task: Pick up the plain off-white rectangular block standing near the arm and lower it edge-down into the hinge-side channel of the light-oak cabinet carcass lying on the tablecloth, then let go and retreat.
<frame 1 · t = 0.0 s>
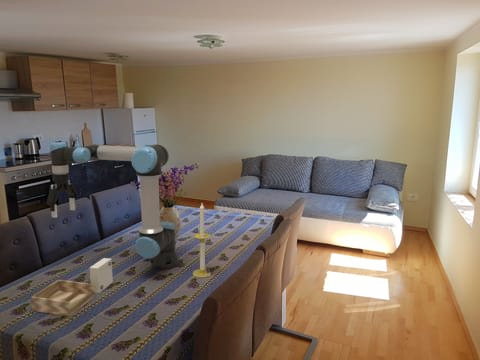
hand: (64, 213, 189), 28 cm above the table, fingers open, 13 cm apart
plain off-white rectangular block: (102, 287, 171), on the table
candle: (202, 273, 186), on the table
cabinet carcass: (64, 303, 156), on the table
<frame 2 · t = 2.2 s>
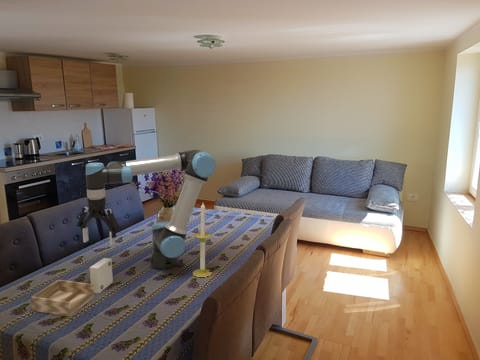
hand: (99, 243, 166), 22 cm above the table, fingers open, 13 cm apart
candle: (202, 273, 186), on the table, touching arm
everything else where it was.
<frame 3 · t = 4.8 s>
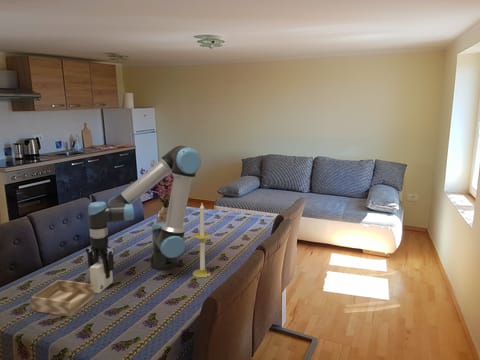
hand: (102, 283, 170), 2 cm above the table, fingers closed on plain off-white rectangular block, 4 cm apart
plain off-white rectangular block: (102, 286, 171), on the table, touching gripper
candle: (202, 273, 186), on the table
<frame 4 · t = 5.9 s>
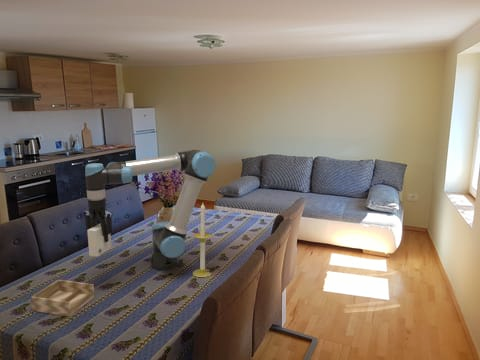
hand: (100, 247, 167), 19 cm above the table, fingers closed on plain off-white rectangular block, 4 cm apart
plain off-white rectangular block: (100, 251, 167), point 18 cm above the table, touching gripper
candle: (202, 273, 186), on the table, touching arm
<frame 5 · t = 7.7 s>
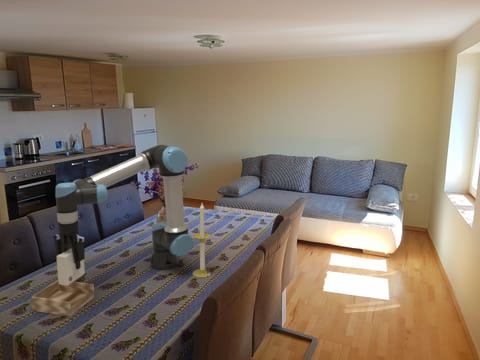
hand: (71, 275, 152), 14 cm above the table, fingers closed on plain off-white rectangular block, 4 cm apart
plain off-white rectangular block: (72, 278, 152), point 12 cm above the table, touching gripper
candle: (202, 273, 186), on the table
when the fingers open (5 cm above the table, at t = 9.3 s): plain off-white rectangular block drops 2 cm, resting on cabinet carcass.
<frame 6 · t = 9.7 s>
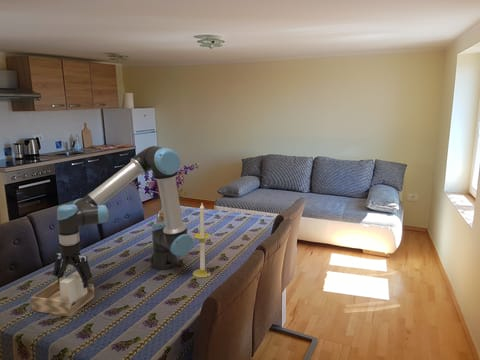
hand: (74, 292, 154), 6 cm above the table, fingers open, 9 cm apart
plain off-white rectangular block: (75, 302, 155), point 1 cm above the table, touching cabinet carcass
everything else where it was.
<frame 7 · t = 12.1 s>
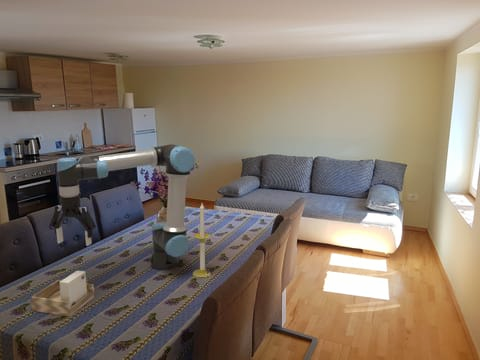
hand: (74, 243, 156), 25 cm above the table, fingers open, 13 cm apart
nothing on the table moved.
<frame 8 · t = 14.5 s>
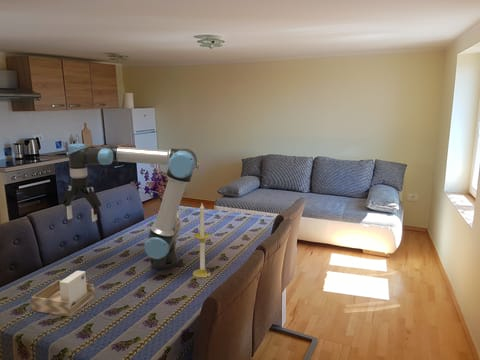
hand: (82, 219, 177), 29 cm above the table, fingers open, 13 cm apart
nothing on the table moved.
at the end: plain off-white rectangular block 0.0 cm from the target spot on the cabinet carcass, point 1.0 cm above the cabinet carcass's base; plain off-white rectangular block tilted 0°; the gripper is holding nothing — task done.
